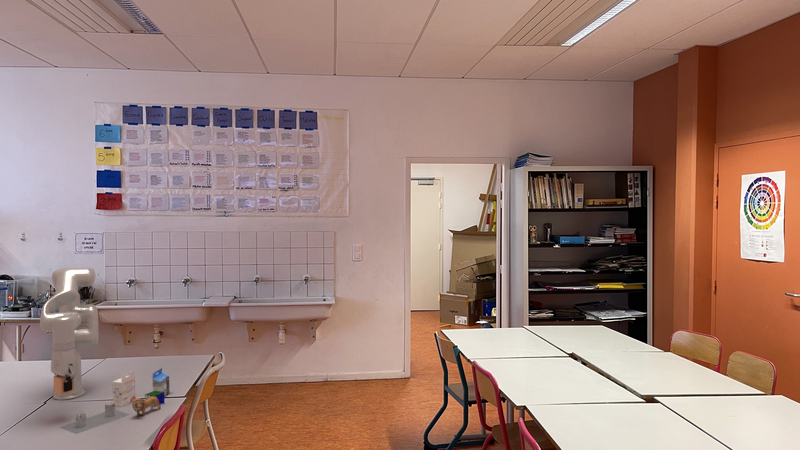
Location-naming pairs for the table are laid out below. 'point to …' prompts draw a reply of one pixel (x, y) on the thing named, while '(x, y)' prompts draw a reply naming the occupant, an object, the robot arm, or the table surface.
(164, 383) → the label tape box
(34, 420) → the table surface
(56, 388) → the orange wooden cube
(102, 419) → the board
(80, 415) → the post
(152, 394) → the puzzle toy
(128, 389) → the ink cartridge box
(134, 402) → the lion figurine
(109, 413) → the post
